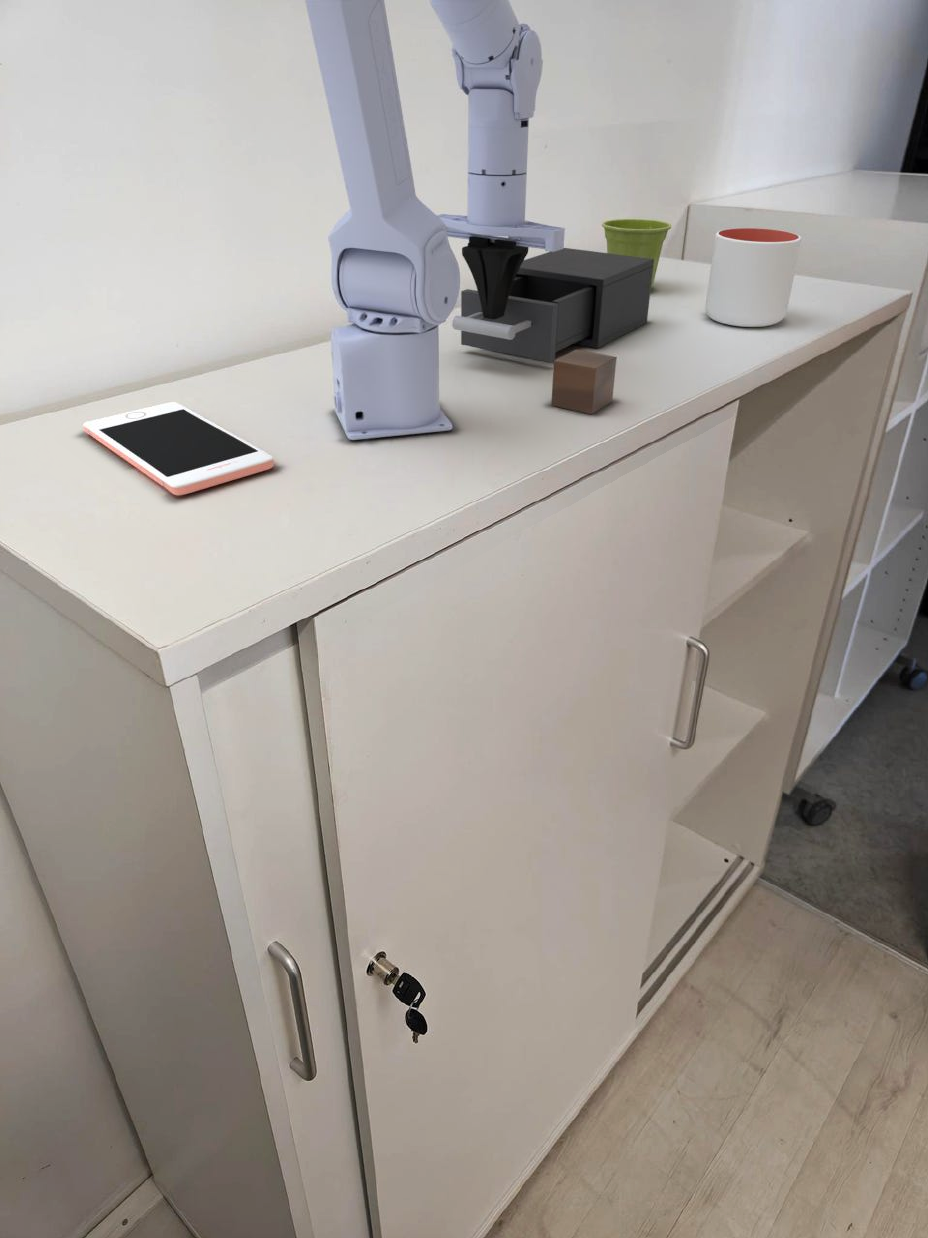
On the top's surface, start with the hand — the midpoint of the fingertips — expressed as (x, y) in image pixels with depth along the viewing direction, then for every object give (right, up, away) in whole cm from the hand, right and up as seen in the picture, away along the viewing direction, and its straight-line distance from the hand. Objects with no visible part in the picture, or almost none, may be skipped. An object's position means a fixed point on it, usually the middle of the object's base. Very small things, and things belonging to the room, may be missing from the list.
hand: (493, 316), depth 93 cm
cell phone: (-28, -17, -17) cm, 37 cm away
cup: (+33, +6, +20) cm, 39 cm away
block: (+8, -11, -7) cm, 15 cm away
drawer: (+3, -1, +7) cm, 7 cm away
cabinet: (+11, +4, +16) cm, 20 cm away
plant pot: (+21, +15, +34) cm, 42 cm away
